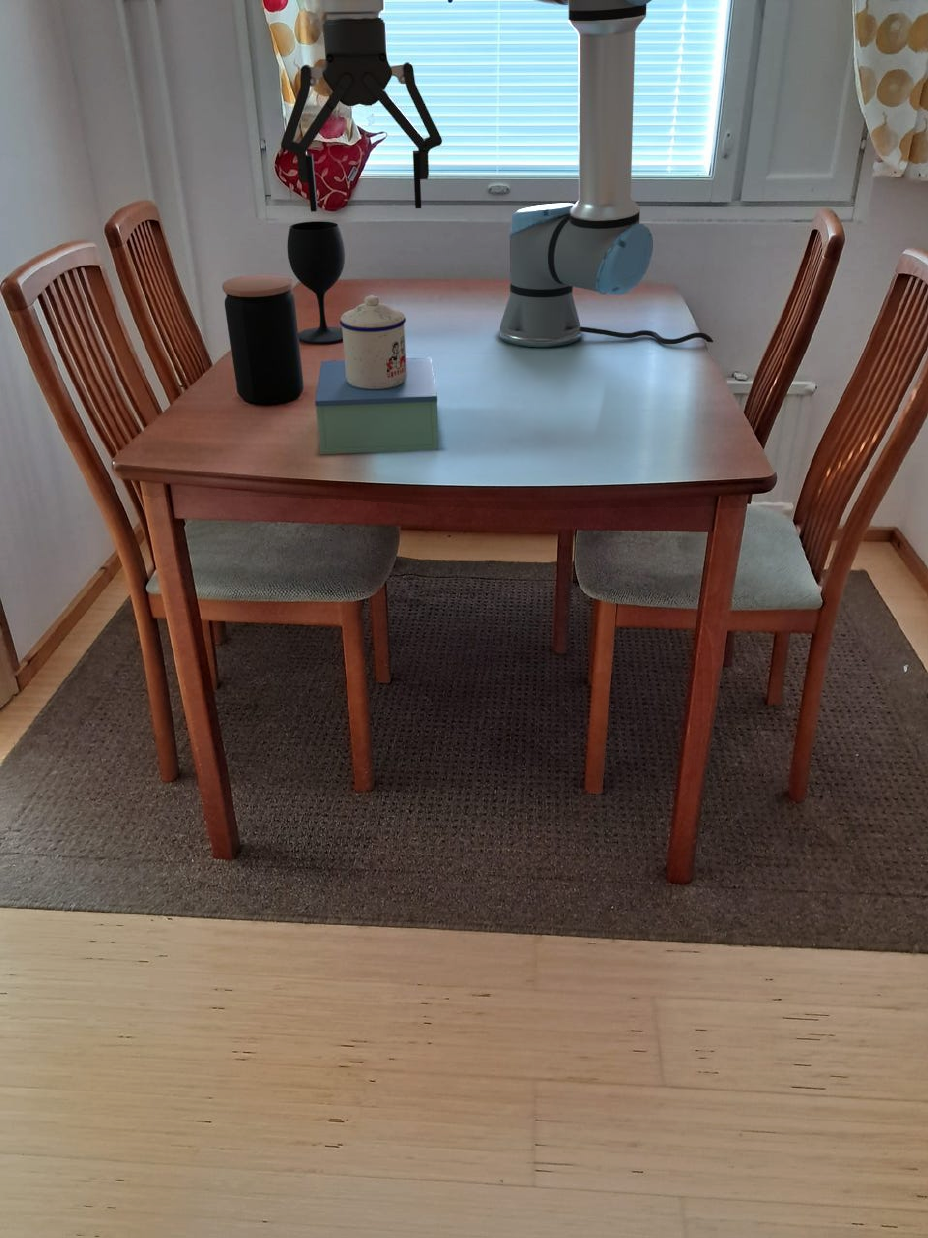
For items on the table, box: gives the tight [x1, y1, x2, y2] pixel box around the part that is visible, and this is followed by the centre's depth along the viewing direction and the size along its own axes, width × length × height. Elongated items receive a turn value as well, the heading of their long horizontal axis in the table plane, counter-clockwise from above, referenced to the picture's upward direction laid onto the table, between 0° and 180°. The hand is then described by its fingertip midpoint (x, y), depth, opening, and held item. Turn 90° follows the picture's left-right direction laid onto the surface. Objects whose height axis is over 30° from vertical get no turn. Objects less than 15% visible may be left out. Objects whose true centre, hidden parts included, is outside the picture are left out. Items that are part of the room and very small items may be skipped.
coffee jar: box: [221, 273, 305, 407], centre depth 151 cm, size 11×11×18 cm
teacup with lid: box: [339, 295, 407, 389], centre depth 135 cm, size 12×9×12 cm
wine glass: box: [287, 220, 346, 345], centre depth 178 cm, size 10×10×20 cm
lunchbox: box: [315, 401, 439, 455], centre depth 141 cm, size 17×17×7 cm
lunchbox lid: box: [314, 356, 438, 407], centre depth 138 cm, size 17×17×1 cm
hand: (366, 208), depth 126 cm, fingers open, 13 cm apart
